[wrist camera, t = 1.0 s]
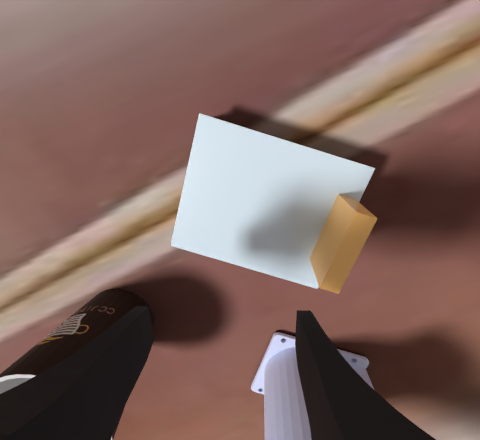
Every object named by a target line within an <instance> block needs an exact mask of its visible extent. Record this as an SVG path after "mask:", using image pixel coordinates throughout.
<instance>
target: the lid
mask: <svg viewBox="0 0 480 440" xmlns="http://www.w3.org/2000/svg"><path fill="white" fill-rule="evenodd" d="M374 170H375V168H373V167H371V166H367V165H364V164H361V163H358V162H355V161H351V160H348V159H345V158H342V157H339V156H335V155H332V154H329V153H326V152H323V151H319V150H316V149H313V148H310V147H307V146H303V145H300V144H297V143H294V142H291V141H287V140H284V139H281V138H278V137H275V136H271V135H268V134H265V133H262V132H259V131H255V130H252V129H249V128H246V127H243V126H239V125H236V124H233V123H230V122H227V121H223V120H220V119H217V118H214V117H211V116H207V115H204V114H201V113H199V117H198V122H197V126H196V131H195V136H194V140H193V145H192V149H191V154H190V158H189V163H188V167H187V172H186V177H185V181H184V186H183V190H182V195H181V199H180V204H179V209H178V213H177V218H176V222H175V227H174V231H173V236H172V240H171V245H170V246H174V247H177V248H180V249H184V250H187V251H191V252H194V253H197V254H201V255H204V256H208V257H211V258H214V259H218V260H221V261H225V262H228V263H231V264H235V265H238V266H241V267H245V268H248V269H252V270H255V271H258V272H262V273H265V274H269V275H272V276H275V277H279V278H282V279H286V280H289V281H292V282H296V283H299V284H302V285H306V286H309V287H313V288H316V289H318V287H319V288H321V289H325V290H328V291H331V292H335V293H338V294H339V292H340V290H341V288H342V286H343V284H344V283H345V281H346V279H347V277H348V275H349V273H350V271H351V269H352V267H353V265H354V263H355V261H356V259H357V257H358V255H359V254H360V252H361V250H362V248H363V246H364V244H365V242H366V240H367V238H368V236H369V234H370V232H371V230H372V228H373V227H374V225H375V223H376V221H377V219H378V218H376V217H375V216H374V215H373V214H372V213H371V212H370V211H368V210H367V209H366V208H365V207H364V206H363V205H361V204H360V203H359V201H360V199H361V197H362V195H363V193H364V191H365V189H366V187H367V185H368V183H369V180H370V178H371V176H372V174H373V172H374Z"/></svg>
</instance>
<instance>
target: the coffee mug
mask: <svg viewBox="0 0 480 440" xmlns="http://www.w3.org/2000/svg"><path fill="white" fill-rule="evenodd" d="M136 306H148V305H147V304H146V303H145V302H144V301H143V300H142V299H141V298H140V297H138V296H137V295H135V294H133V293H131V292H128V291H125V290H119V289H111V290H106V291H103V292H101V293H99V294H98V295H96V296H95V297H94V298H93V299H92V300H90V301H89V302H88V303H87V304H85V305H84V306H83V307H82V308H81V309H79V310H78V311H77V312H76V313H74V314H73V315H72V316H71V317H70V318H68V319H67V320H66V321H65V322H63V323H62V324H61V325H60V326H59V327H57V328H56V329H55V330H54V331H52V332H51V333H50V334H49V335H48V336H46V337H45V338H44V339H43V340H41V341H40V342H39V343H38V344H37V345H35V346H34V347H33V348H32V349H30V350H29V351H28V352H27V353H26V354H24V355H23V356H22V357H21V358H19V359H18V360H17V361H16V362H15V363H13V364H12V365H11V366H10V367H8V368H7V369H6V370H5V371H4V372H2V373H1V374H0V394H1V393H3V392H5V391H8V390H10V389H12V388H14V387H16V386H18V385H20V384H22V383H24V382H26V381H27V380H29V379H31V378H33V377H35V376H36V375H38V374H40V373H42V372H44V371H46V370H47V369H49V368H51V367H53V366H54V365H56V364H58V363H59V362H61V361H62V360H64V359H66V358H67V357H69V356H70V355H72V354H73V353H75V352H76V351H78V350H79V349H81V348H82V347H83V346H85V345H86V344H87V343H89V342H90V341H92V340H93V339H94V338H96V337H97V336H99V335H100V334H101V333H102V332H104V331H105V330H106V329H108V328H109V327H110V326H111V325H113V324H114V323H115V322H116V321H118V320H119V319H120V318H121V317H123V316H124V315H125V314H126V313H128V312H129V311H130V310H132V309H133V308H134V307H136ZM148 308H149V307H148ZM149 314H150V320H151V325H152V327H153V321H154V319H153V314H152V312H151V310H150V308H149ZM124 407H125V406H124ZM123 410H124V408H123ZM123 410H122V412H121V415H122V413H123ZM121 415H120V417H119V419H118V422H117V424H116V427H115V430H114V432H113V435H112V437H111V440H113V438H114V435H115V432H116V430H117V427H118V424H119V421H120V418H121Z"/></svg>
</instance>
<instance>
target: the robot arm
mask: <svg viewBox="0 0 480 440" xmlns="http://www.w3.org/2000/svg"><path fill="white" fill-rule="evenodd" d="M283 338H285V339H284V340H283ZM153 341H154V337H153V331H152V325H151V320H150V314H149V308H148V306H136V307H134V308H133V309H132V310H130V311H129V312H128V313H126V314H125V315H124V316H123V317H121V318H120V319H119V320H118V321H116V322H115V323H114V324H113V325H111V326H110V327H109V328H108V329H106V330H105V331H104V332H102V333H101V334H100V335H99V336H97V337H96V338H94V339H93V340H92V341H90V342H89V343H87V344H86V345H85V346H83V347H82V348H81V349H79V350H78V351H76V352H75V353H73V354H72V355H70V356H69V357H67V358H66V359H64V360H62V361H61V362H59V363H58V364H56V365H54V366H53V367H51V368H49V369H47V370H46V371H44V372H42V373H40V374H38V375H36V376H35V377H33V378H31V379H29V380H27V381H26V382H24V383H22V384H20V385H18V386H16V387H14V388H12V389H10V390H8V391H5V392H3V393H1V394H0V440H111V437H112V435H113V432H114V430H115V427H116V424H117V422H118V419H119V417H120V415H121V412H122V410H123V408H124V406H125V404H126V402H127V400H128V398H129V396H130V394H131V392H132V390H133V388H134V386H135V383H136V381H137V379H138V377H139V375H140V373H141V371H142V369H143V367H144V365H145V363H146V361H147V358H148V355H149V353H150V350H151V347H152V344H153ZM368 365H369V361H368V359H367V358H366V357H364V356H360V355H357V354H353V353H350V352H346V351H343V350H339V349H336V347H335V346H334V345H333V343H332V342H331V340H330V339H329V338H328V336H327V335H326V334H325V332H324V331H323V329H322V328H321V326H320V325H319V323H318V321H317V320H316V318H315V317H314V315H313V313H312V312H311V311H297V320H296V337H294V336H291V335H287V334H284V333H280V332H276V333H274V335H273V337H272V339H271V341H270V343H269V346H268V348H267V350H266V353H265V355H264V357H263V359H262V362H261V364H260V366H259V369H258V371H257V373H256V375H255V378H254V380H253V382H252V384H251V389H252V391H254V392H257V393H261V394H264V421H265V440H436V439H434V438H433V437H431V436H430V435H429V434H427V433H426V432H424V431H423V430H422V429H420V428H419V427H417V426H416V425H415V424H413V423H412V422H411V421H410V420H408V419H407V418H406V417H405V416H403V415H402V414H401V413H400V412H398V411H397V410H396V409H395V408H394V407H392V406H391V405H390V404H389V403H388V402H387V401H386V400H385V399H383V398H382V397H381V396H380V395H379V394H378V393H377V392H376V391H375V390H374V388H373V385H372V383H371V380H370V378H369V376H368V373H367V371H366V368H367V367H368Z"/></svg>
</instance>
